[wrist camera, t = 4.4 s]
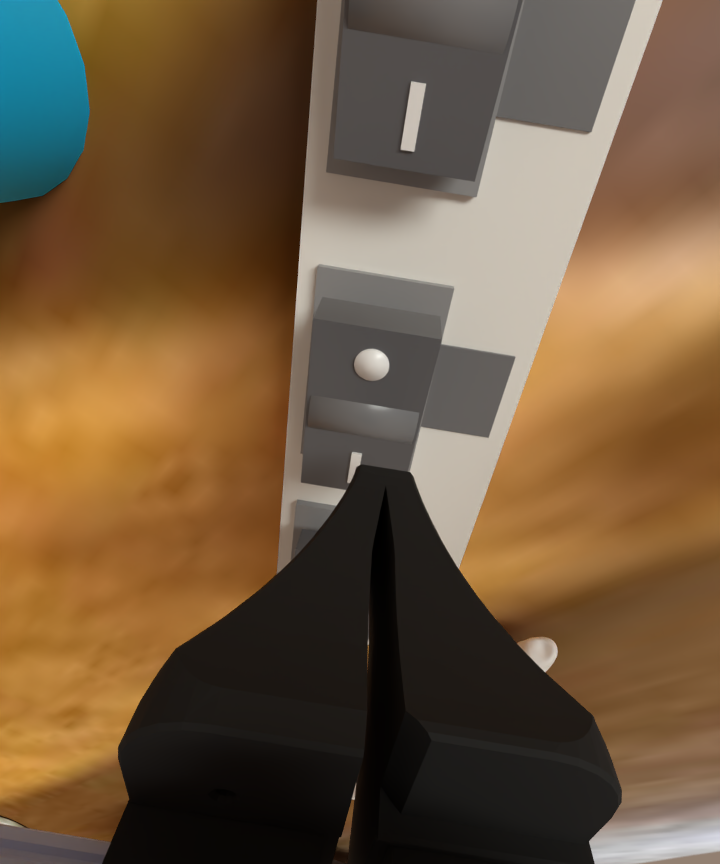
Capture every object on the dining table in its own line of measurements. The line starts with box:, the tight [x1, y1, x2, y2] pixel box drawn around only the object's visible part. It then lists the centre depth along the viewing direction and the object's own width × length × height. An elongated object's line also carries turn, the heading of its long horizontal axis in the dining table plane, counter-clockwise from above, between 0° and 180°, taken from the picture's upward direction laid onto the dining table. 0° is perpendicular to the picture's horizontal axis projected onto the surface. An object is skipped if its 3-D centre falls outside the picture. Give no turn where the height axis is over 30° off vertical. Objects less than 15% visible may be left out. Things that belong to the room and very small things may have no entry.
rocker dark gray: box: [301, 297, 442, 490], centre depth 14 cm, size 3×6×2 cm, turn 172°
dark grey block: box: [333, 0, 523, 182], centre depth 9 cm, size 3×6×2 cm, turn 172°
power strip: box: [277, 0, 663, 645], centre depth 16 cm, size 8×34×5 cm, turn 172°
